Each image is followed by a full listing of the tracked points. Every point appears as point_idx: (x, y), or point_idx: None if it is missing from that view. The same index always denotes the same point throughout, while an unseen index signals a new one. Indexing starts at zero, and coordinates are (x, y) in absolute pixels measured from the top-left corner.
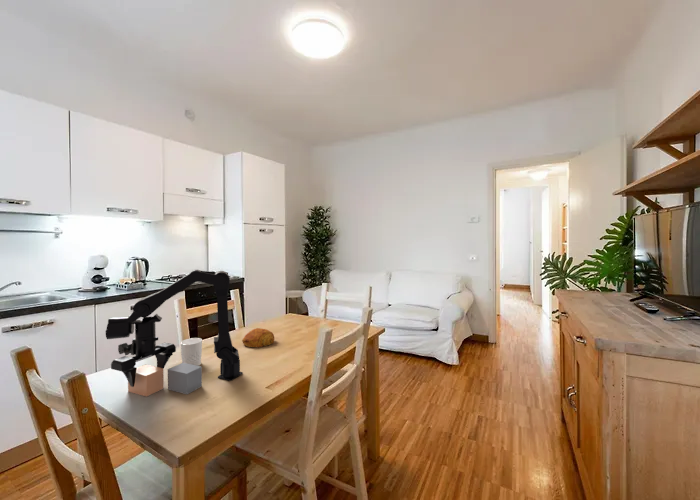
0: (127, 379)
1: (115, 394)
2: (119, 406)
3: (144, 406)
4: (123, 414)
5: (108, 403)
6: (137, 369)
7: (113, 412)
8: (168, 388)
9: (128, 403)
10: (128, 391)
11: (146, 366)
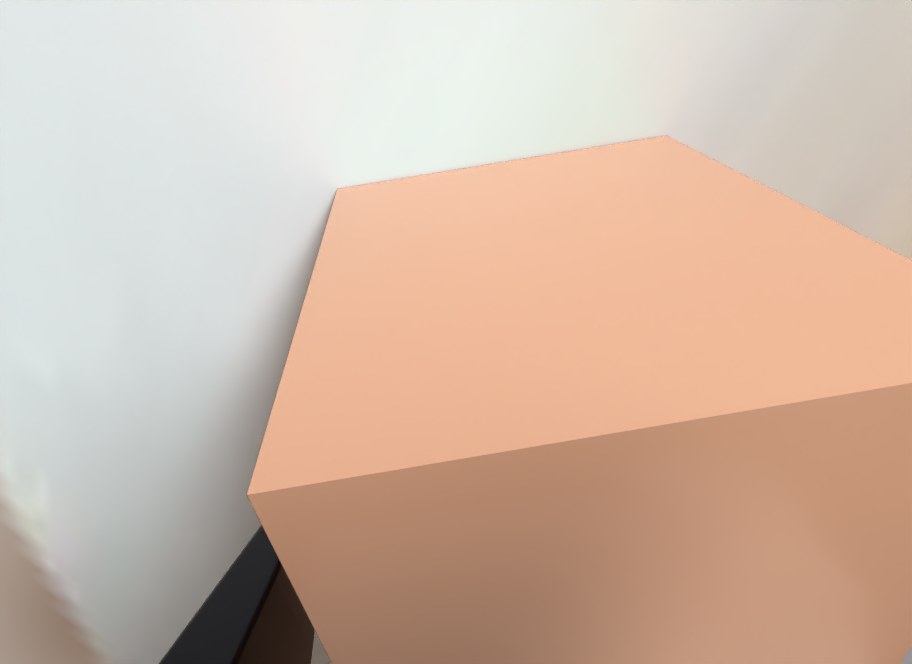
0: (171, 656)
1: (134, 99)
2: (127, 508)
3: (318, 640)
4: (135, 643)
5: (3, 344)
6: (551, 587)
7: (54, 570)
8: None
9: (225, 514)
10: (340, 195)
11: (858, 559)
